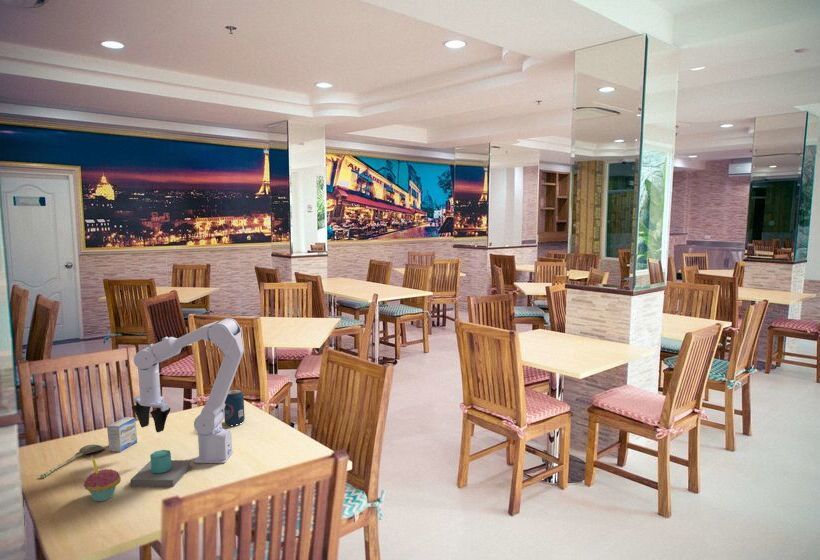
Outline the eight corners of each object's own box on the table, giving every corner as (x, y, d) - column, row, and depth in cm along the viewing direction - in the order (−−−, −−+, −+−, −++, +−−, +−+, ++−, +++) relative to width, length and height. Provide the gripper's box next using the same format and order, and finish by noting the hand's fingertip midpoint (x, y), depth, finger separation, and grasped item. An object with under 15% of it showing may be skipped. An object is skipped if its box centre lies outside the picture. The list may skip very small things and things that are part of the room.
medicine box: (120, 452, 174) (118, 426, 173) (108, 451, 175) (106, 425, 174) (137, 442, 181) (136, 417, 180) (126, 441, 182) (124, 416, 181)
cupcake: (83, 507, 141) (79, 463, 140) (87, 492, 149) (84, 450, 147) (120, 500, 145) (117, 457, 143) (123, 486, 152) (120, 445, 151)
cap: (170, 463, 161) (169, 448, 161) (172, 470, 157) (171, 455, 156) (150, 467, 159) (149, 452, 158) (152, 474, 154) (151, 459, 154)
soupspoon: (110, 451, 177) (93, 449, 179) (109, 441, 177) (92, 439, 179) (51, 480, 156) (32, 479, 158) (50, 469, 156) (31, 467, 157)
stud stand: (191, 466, 164) (189, 447, 163) (173, 486, 152) (172, 466, 151) (151, 466, 164) (150, 447, 163) (130, 486, 152) (129, 466, 151)
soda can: (220, 424, 196) (219, 392, 195) (235, 418, 202) (234, 387, 201) (233, 428, 193) (232, 395, 191) (248, 421, 199) (247, 390, 197)
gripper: (176, 386, 167) (178, 429, 168) (147, 379, 174) (149, 420, 176) (155, 393, 161) (158, 437, 162) (126, 385, 168) (129, 427, 170)
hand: (152, 428), depth 169 cm, fingers open, 7 cm apart
